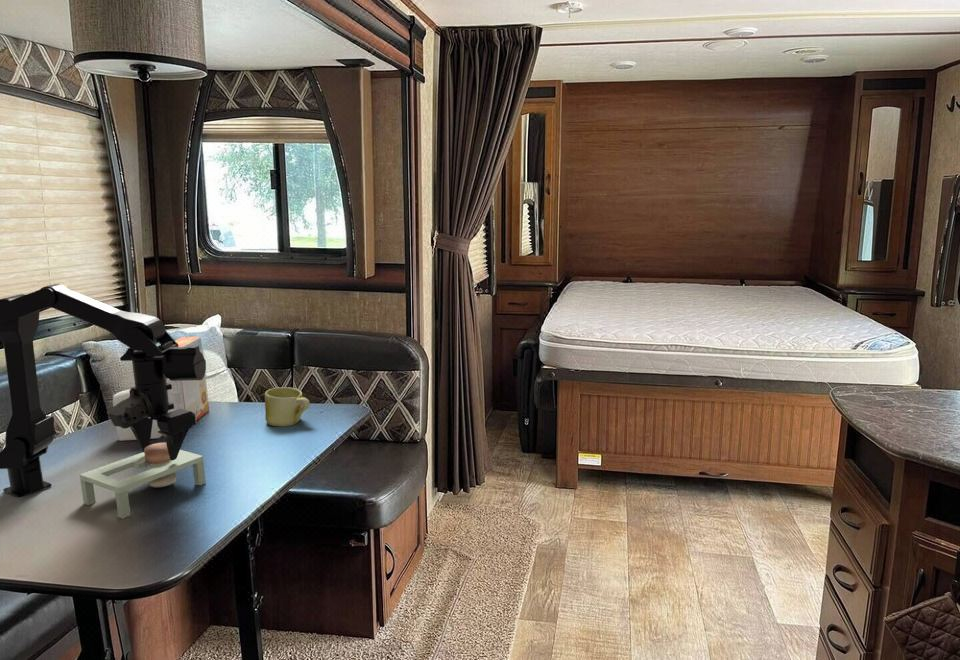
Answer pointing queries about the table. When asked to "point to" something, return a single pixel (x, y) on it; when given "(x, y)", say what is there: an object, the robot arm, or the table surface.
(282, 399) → the mug
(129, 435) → the photo printer
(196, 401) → the cracker box
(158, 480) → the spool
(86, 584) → the table surface
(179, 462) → the keyhole board
